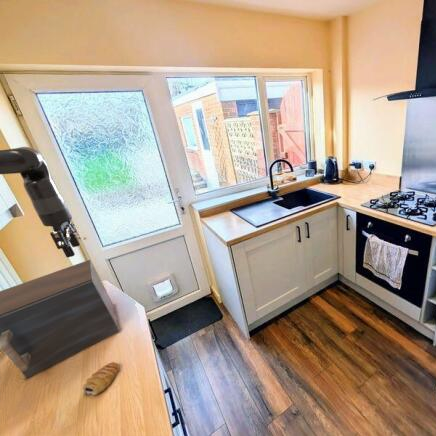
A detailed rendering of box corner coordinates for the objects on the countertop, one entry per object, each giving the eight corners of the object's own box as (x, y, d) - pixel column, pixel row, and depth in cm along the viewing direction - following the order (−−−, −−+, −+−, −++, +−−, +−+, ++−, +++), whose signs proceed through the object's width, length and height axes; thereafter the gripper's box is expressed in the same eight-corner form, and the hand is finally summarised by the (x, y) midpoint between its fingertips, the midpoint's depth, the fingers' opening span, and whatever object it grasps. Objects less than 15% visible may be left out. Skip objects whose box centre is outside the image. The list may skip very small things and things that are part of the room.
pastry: (109, 364, 82) (104, 356, 81) (125, 367, 81) (121, 359, 79) (82, 393, 74) (76, 385, 72) (100, 397, 72) (94, 389, 71)
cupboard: (119, 329, 96) (91, 279, 86) (27, 375, 81) (-18, 322, 71) (114, 305, 109) (89, 259, 99) (34, 341, 94) (-4, 292, 84)
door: (121, 340, 90) (93, 289, 80) (24, 392, 76) (-26, 337, 66) (119, 329, 96) (92, 279, 86) (27, 375, 81) (-18, 322, 71)
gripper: (44, 206, 85) (65, 246, 92) (29, 219, 74) (54, 264, 80) (71, 201, 89) (90, 240, 95) (60, 212, 77) (82, 256, 84)
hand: (73, 251), depth 88 cm, fingers open, 8 cm apart
